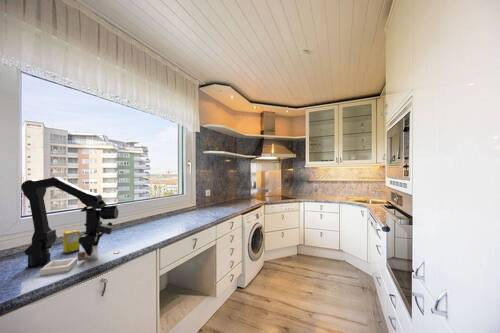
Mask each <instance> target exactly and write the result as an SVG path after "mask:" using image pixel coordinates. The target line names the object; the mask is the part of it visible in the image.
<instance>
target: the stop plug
mask: <svg viewBox="0 0 500 333" xmlns="http://www.w3.org/2000/svg"><path fill="white" fill-rule="evenodd" d="M98 260H99V245H98V246H97V245H94V246H93V249H92V253H91V256H88V258H87V262H88V263H93V262H96V261H98Z"/></svg>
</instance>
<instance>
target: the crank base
mask: <svg viewBox="0 0 500 333" xmlns="http://www.w3.org/2000/svg"><path fill="white" fill-rule="evenodd" d="M119 253H120V250H115V251H114V253H113V254H114V255H116V254H119ZM85 259H88V255H87V256H86V257H85Z"/></svg>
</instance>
